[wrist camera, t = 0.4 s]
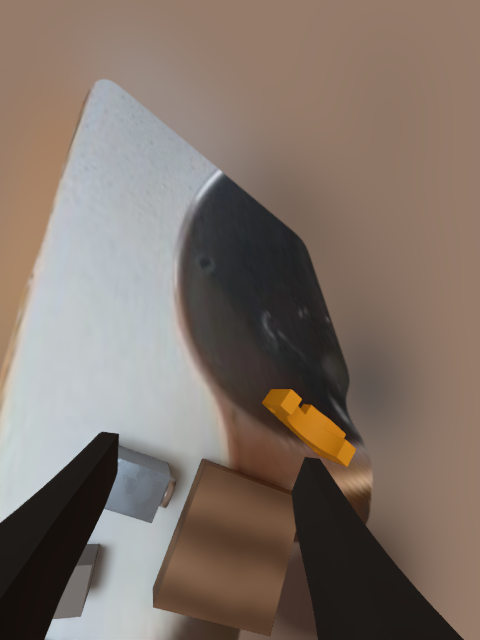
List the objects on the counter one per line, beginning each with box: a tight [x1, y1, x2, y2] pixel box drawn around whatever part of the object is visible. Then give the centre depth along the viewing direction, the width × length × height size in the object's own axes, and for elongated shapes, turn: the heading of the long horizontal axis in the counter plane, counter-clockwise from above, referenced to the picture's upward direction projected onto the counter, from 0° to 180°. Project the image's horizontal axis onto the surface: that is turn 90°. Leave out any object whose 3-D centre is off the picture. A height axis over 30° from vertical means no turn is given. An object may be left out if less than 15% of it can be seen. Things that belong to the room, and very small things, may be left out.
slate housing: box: [104, 445, 176, 523], centre depth 30 cm, size 4×9×6 cm, turn 69°
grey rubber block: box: [53, 544, 99, 619], centre depth 27 cm, size 4×4×4 cm
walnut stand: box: [153, 459, 296, 636], centre depth 33 cm, size 14×14×3 cm
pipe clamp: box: [262, 389, 356, 467], centre depth 38 cm, size 12×4×6 cm, turn 50°
